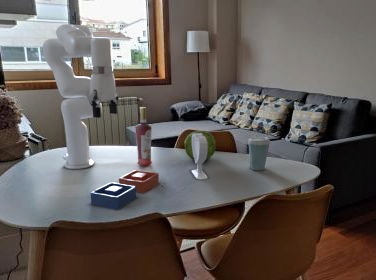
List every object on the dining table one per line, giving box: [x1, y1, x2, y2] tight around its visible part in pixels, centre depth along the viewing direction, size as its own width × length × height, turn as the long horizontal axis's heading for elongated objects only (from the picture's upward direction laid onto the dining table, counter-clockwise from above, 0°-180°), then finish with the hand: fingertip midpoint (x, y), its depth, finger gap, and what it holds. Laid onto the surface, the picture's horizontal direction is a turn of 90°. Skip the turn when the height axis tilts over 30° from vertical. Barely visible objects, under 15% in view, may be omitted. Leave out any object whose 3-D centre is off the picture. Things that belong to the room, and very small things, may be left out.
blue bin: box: [90, 181, 137, 211], centre depth 129 cm, size 11×11×4 cm
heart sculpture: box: [191, 133, 208, 180], centre depth 158 cm, size 16×5×18 cm, turn 18°
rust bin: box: [118, 169, 160, 194], centre depth 143 cm, size 11×11×4 cm
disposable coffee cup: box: [247, 136, 271, 171], centre depth 169 cm, size 11×11×15 cm
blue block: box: [105, 186, 123, 197], centre depth 129 cm, size 4×4×4 cm
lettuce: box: [184, 130, 217, 160], centre depth 183 cm, size 16×21×15 cm
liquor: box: [134, 106, 153, 168], centre depth 167 cm, size 7×7×28 cm
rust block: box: [132, 173, 147, 181], centre depth 143 cm, size 4×4×4 cm
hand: (105, 115), depth 140 cm, fingers open, 9 cm apart
